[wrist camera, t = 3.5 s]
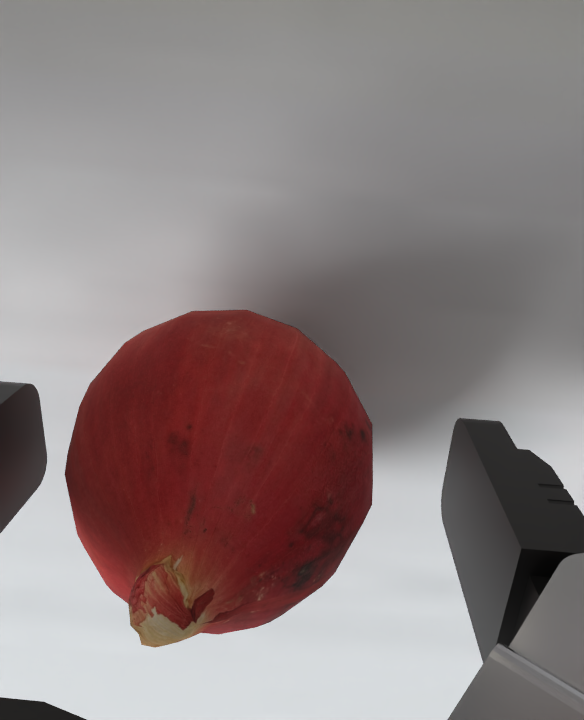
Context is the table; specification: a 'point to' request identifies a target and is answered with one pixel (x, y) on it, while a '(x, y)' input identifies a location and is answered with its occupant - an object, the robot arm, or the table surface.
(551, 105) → the table surface
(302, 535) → the onion
